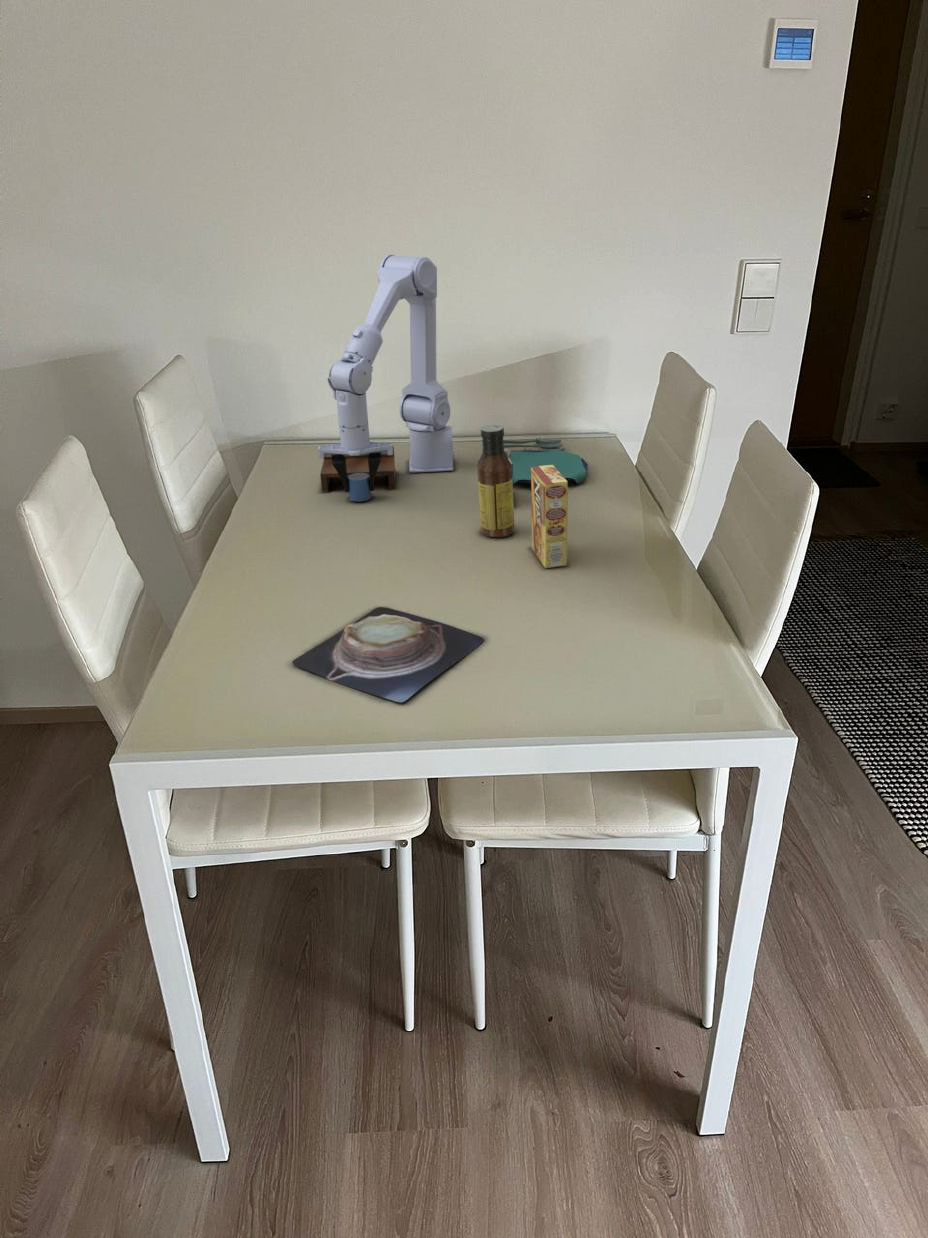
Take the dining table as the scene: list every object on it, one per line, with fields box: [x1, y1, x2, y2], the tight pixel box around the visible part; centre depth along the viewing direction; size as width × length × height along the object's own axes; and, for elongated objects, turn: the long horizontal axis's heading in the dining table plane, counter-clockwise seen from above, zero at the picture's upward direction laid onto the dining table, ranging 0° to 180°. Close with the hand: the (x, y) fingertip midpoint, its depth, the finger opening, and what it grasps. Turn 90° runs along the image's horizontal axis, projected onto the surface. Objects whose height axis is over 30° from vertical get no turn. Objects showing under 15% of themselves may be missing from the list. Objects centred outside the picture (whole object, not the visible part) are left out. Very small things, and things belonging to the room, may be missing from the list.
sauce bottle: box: [476, 424, 515, 538], centre depth 172 cm, size 7×6×20 cm
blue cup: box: [347, 473, 372, 503], centre depth 193 cm, size 4×4×4 cm
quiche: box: [291, 606, 485, 703], centre depth 139 cm, size 21×20×4 cm
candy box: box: [530, 465, 569, 569], centre depth 163 cm, size 9×4×15 cm, turn 12°
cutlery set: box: [503, 437, 589, 485], centre depth 208 cm, size 20×30×2 cm, turn 1°
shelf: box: [319, 445, 397, 493], centre depth 201 cm, size 15×10×6 cm, turn 93°
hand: (359, 490), depth 193 cm, fingers closed on blue cup, 4 cm apart
